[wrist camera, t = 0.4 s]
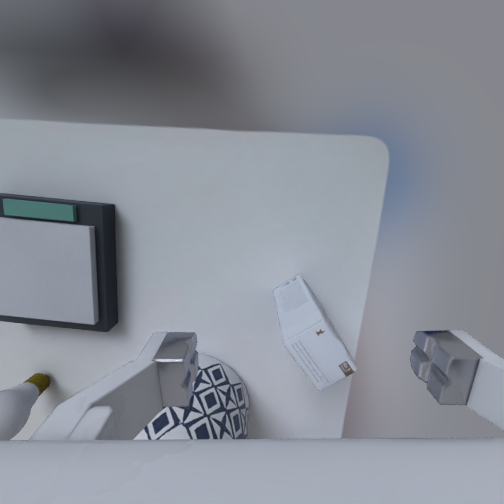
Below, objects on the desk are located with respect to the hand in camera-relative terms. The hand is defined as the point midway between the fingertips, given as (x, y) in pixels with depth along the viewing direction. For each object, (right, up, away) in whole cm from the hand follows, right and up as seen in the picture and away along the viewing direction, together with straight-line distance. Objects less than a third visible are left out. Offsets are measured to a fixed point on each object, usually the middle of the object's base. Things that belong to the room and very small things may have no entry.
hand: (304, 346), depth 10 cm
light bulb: (-32, -15, +28) cm, 45 cm away
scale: (-27, +2, +24) cm, 36 cm away
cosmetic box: (+4, -3, +24) cm, 25 cm away
